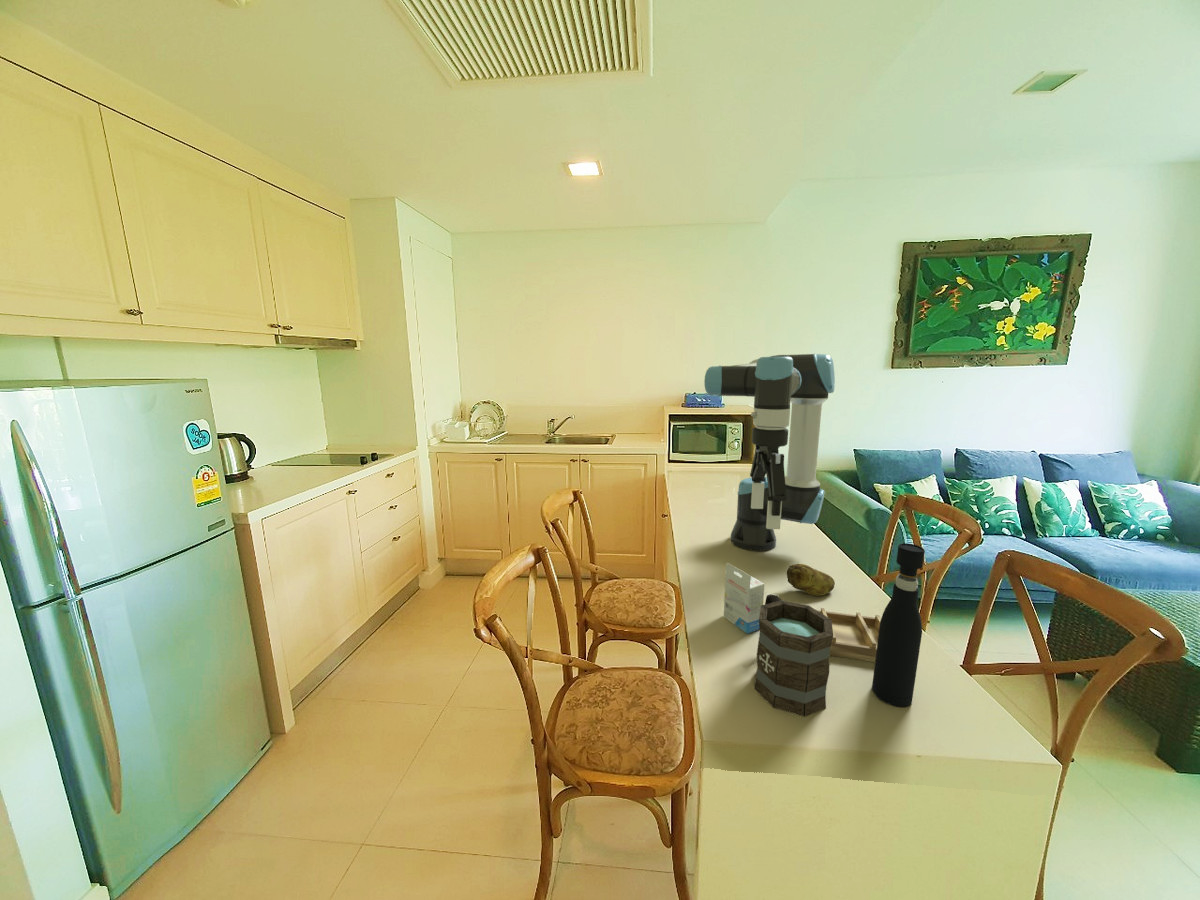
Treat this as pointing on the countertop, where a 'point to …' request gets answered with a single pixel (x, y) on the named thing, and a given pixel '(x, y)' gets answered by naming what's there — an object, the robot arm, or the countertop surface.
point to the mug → (793, 656)
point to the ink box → (742, 599)
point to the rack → (854, 635)
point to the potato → (809, 580)
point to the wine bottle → (900, 633)
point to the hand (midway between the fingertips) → (764, 517)
